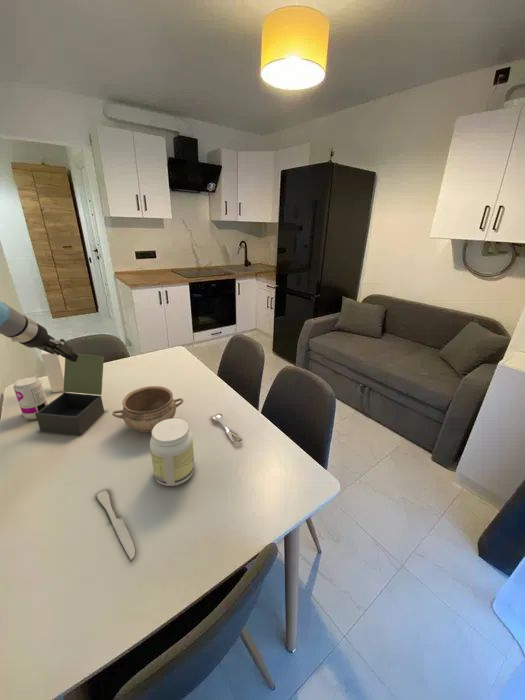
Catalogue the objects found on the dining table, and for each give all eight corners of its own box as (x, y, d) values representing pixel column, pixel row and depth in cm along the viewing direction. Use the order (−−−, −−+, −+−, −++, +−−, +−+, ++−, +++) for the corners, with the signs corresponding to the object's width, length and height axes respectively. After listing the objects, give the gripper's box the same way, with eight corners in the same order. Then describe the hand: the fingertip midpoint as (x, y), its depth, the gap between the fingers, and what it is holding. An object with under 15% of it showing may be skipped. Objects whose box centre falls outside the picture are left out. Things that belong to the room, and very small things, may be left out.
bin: (81, 435, 104) (76, 417, 101) (40, 431, 105) (35, 413, 102) (104, 411, 118) (101, 395, 115) (68, 408, 119) (64, 392, 116)
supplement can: (26, 423, 109) (15, 388, 103) (21, 413, 114) (10, 380, 108) (52, 414, 115) (42, 381, 109) (46, 405, 120) (36, 373, 114)
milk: (57, 385, 134) (45, 341, 125) (72, 384, 136) (60, 340, 127) (51, 392, 129) (38, 346, 120) (67, 391, 130) (55, 346, 121)
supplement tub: (195, 456, 98) (192, 414, 91) (193, 486, 87) (190, 441, 80) (157, 459, 96) (152, 417, 89) (151, 490, 85) (144, 445, 78)
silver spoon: (245, 434, 103) (234, 439, 100) (246, 442, 104) (234, 447, 102) (219, 409, 118) (208, 413, 116) (219, 416, 119) (209, 420, 117)
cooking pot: (116, 450, 99) (110, 420, 94) (115, 418, 114) (110, 391, 109) (189, 432, 109) (187, 404, 104) (180, 405, 124) (178, 380, 119)
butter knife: (106, 488, 84) (95, 494, 82) (139, 553, 68) (126, 562, 66) (107, 489, 84) (96, 495, 82) (139, 554, 68) (126, 563, 66)
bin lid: (102, 356, 114) (103, 356, 114) (65, 353, 115) (66, 353, 115) (100, 395, 114) (101, 394, 115) (63, 391, 115) (64, 391, 116)
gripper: (1, 341, 87) (55, 366, 109) (42, 345, 86) (88, 369, 108) (11, 319, 90) (62, 348, 112) (51, 322, 89) (94, 350, 111)
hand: (75, 358), depth 110 cm, fingers closed
